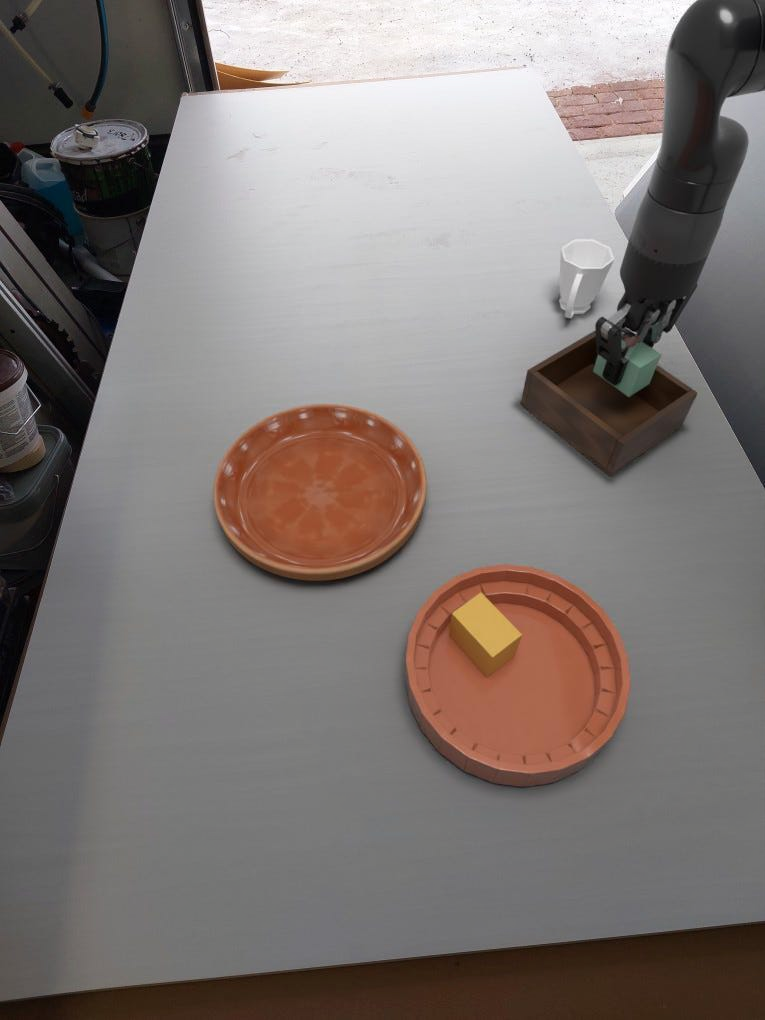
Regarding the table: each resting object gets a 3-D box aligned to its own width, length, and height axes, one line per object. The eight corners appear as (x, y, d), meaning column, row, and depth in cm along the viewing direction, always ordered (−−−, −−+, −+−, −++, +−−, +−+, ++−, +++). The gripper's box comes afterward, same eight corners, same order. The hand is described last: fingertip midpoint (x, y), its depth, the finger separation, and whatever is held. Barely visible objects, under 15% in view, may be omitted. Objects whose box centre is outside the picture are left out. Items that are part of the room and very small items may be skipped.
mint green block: (649, 384, 80) (661, 354, 76) (628, 397, 79) (640, 367, 75) (613, 358, 83) (623, 328, 79) (592, 371, 81) (601, 341, 78)
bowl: (661, 697, 63) (677, 678, 59) (505, 837, 56) (513, 825, 53) (513, 555, 72) (519, 531, 69) (364, 661, 65) (362, 640, 62)
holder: (681, 426, 83) (698, 392, 78) (610, 476, 78) (623, 443, 74) (590, 361, 90) (601, 326, 85) (520, 404, 85) (527, 370, 81)
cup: (604, 295, 98) (620, 244, 91) (589, 339, 92) (603, 287, 86) (556, 284, 99) (567, 233, 93) (537, 326, 94) (548, 275, 87)
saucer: (467, 498, 77) (470, 477, 74) (315, 632, 67) (311, 614, 64) (328, 397, 86) (326, 375, 83) (178, 501, 77) (169, 481, 74)
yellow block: (515, 655, 65) (522, 634, 61) (487, 677, 64) (492, 657, 60) (476, 614, 68) (481, 591, 64) (448, 635, 66) (451, 613, 63)
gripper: (653, 285, 62) (606, 418, 76) (749, 229, 67) (688, 364, 81) (591, 247, 65) (556, 381, 79) (686, 196, 70) (638, 331, 84)
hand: (623, 372), depth 80 cm, fingers closed on mint green block, 3 cm apart
